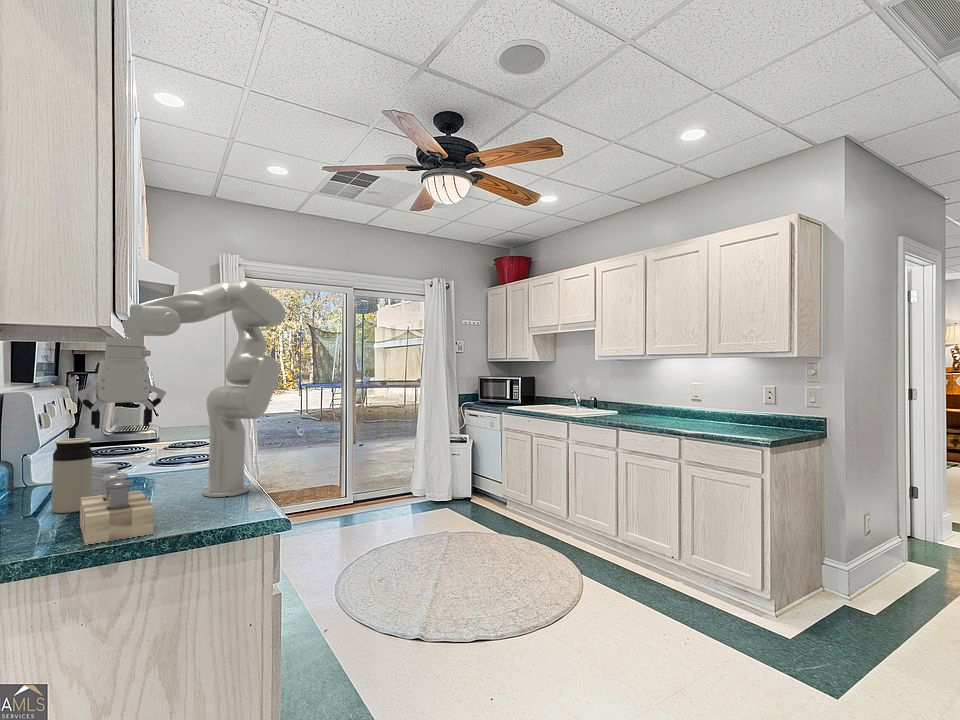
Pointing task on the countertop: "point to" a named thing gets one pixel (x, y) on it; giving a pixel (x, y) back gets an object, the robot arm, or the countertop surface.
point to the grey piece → (118, 493)
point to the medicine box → (97, 472)
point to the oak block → (115, 518)
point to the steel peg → (112, 478)
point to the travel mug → (71, 474)
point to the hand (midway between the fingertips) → (122, 427)
